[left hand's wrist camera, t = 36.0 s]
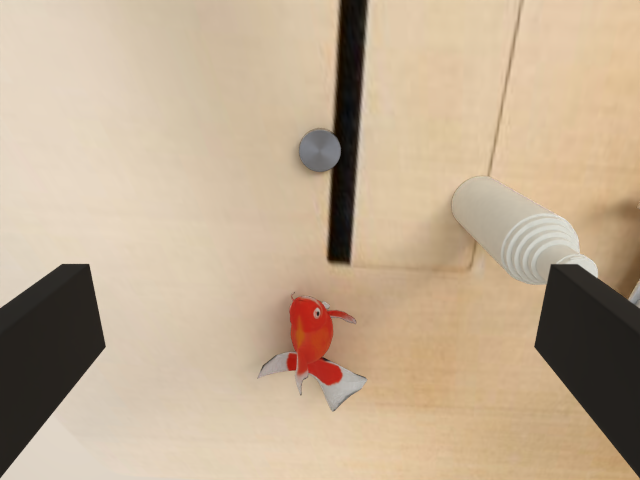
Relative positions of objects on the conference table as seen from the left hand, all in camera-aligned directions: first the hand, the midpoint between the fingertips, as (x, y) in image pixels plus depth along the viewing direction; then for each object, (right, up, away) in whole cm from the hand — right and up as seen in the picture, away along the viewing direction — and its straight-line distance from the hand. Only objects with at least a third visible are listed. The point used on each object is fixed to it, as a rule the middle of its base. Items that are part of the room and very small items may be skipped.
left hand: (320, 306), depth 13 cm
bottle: (+16, +6, +31) cm, 36 cm away
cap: (0, +10, +28) cm, 30 cm away
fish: (0, -9, +37) cm, 38 cm away
